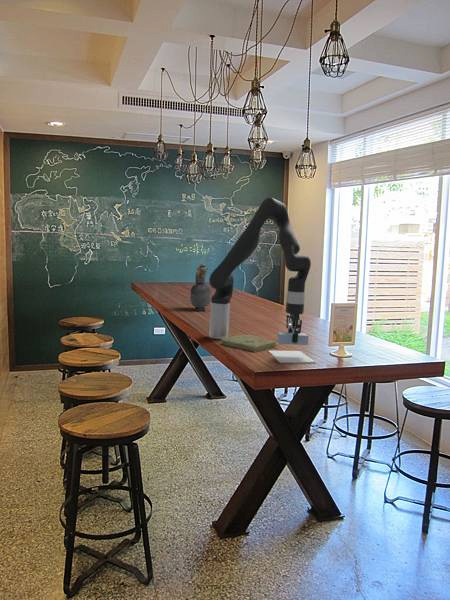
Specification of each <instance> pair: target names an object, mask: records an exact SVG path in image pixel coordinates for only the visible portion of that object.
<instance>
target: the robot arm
mask: <svg viewBox="0 0 450 600" xmlns="http://www.w3.org/2000/svg"><path fill="white" fill-rule="evenodd" d="M267 220H270V221H272V222H274V223H275V224H276V226H277V227H278V231H279V232H278V240H279V244H280V246H281V248H282V251H283V255H284V256H283V257H284V265H285V268H286V269H287V270H288V271H289V272H295V273H296V272H297V274H296V275H294V276H292V277H289V279H288V281H287V283H288V284H287V294H286V301H285V303H286V304H285V312H286V313H287V315H286V323H285V324H286V330H287V331H288V332H287V333H293V336H292V342H293V343H297V342H298V334H299V333H302V325H303V319H301V318H300V315H303V314H304V312H305V311H304V310H305V300H306V299H305V298H306V297H305V288H306V286H305V285H306V281H307V279H308V275H309V272H310V269H311V266H312V265H311V263H312V262H311V259H310V257H309V256H308V255H306V254H298V253H299V252H300V250H301V247H300V244H299V242H298V240H297V238H296V236H295V234H294V232H293V231H294V230H293V227H292V225H291V221H290V218H289V213H288V209H287V206H286V204H285V203H283V202H282V201H280V200H278V199H275V198H273V197H271V196H270V197H267V198H265V199H264V200H263V201H262V202H261V204H260V205H259V207H258V208H257V209H256V212H255V214H254V216H253V217H252V218H251V220H250V222H249V223H248V225H247V227H246V228H245V229H244V231H243V232H242V233H241V234H240V236H238V239H236V241H235V243H234V244H233V245H232V247H231V248H230V250H229V251H228V253H227V254H226V256H224V257H225V258H224V259H222V261H221V262H220V263H219V264H218V266H217V267H216V268H214V270H213V271H212V272H211V274H210V275H209V279H208V280H209V281H208V282H209V285H210V286H211V288H213V289H215V292H214V294H212V296H211V298H210V317H209V329H208V331H209V333H208V334H209V335H208V337H209V338H211V339H214V340H215V339H216V340H222V339H225V338H227V337H229V325H230V309H231V308H230V306H231V299H232V297H233V291H234V290H233V289H234V276H233V275H234V274H233V272H234V271H235V270H236V269H237V268H238V267H239V266H240V265H241V264H243V263H245V261H247V260H248V259H249V257H251V256H252V254H253V253H254V251H255V250H256V249H257V248H258V246H259V242H260V235H261V234H260V233H261V230H262V229H263V228H262V227H263V225H264V224H265V223H266V222H267Z"/></svg>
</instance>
